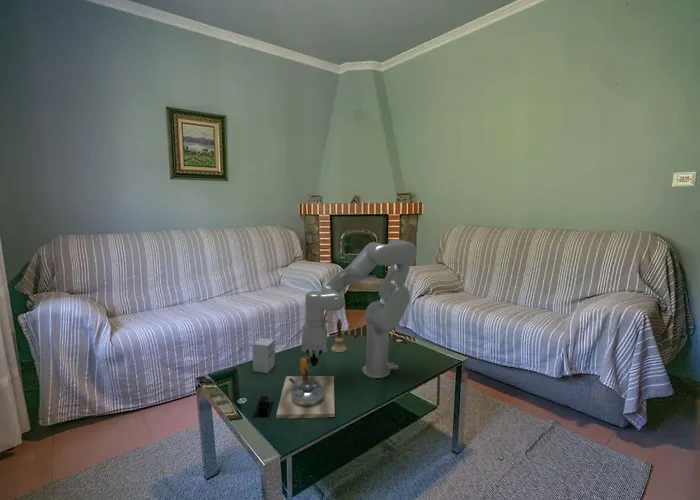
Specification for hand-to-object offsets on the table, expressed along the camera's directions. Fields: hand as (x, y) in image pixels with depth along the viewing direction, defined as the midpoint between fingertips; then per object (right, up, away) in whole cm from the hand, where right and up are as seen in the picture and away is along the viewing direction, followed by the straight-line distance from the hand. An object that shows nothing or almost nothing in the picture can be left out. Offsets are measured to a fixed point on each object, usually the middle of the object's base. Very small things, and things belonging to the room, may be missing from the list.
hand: (314, 364), depth 141 cm
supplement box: (-24, -6, +12) cm, 27 cm away
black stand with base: (-16, -11, -18) cm, 26 cm away
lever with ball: (-2, -7, -8) cm, 11 cm away
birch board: (-1, -9, -10) cm, 13 cm away
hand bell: (+9, -4, +34) cm, 35 cm away
